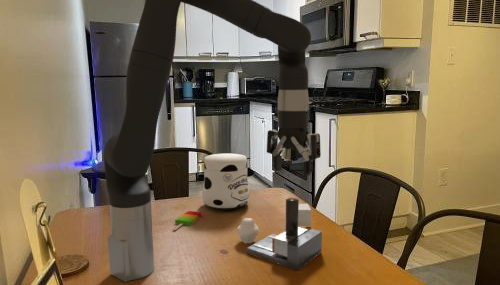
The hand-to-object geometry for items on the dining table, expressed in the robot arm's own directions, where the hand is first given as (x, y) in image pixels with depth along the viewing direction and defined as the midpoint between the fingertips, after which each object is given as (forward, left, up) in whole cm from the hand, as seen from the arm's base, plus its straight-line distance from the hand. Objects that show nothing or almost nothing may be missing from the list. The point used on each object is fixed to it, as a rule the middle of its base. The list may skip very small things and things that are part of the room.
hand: (292, 172), depth 96 cm
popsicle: (-1, +39, -23) cm, 45 cm away
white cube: (+20, +9, -22) cm, 31 cm away
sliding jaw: (0, 0, -20) cm, 20 cm away
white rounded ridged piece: (0, +14, -22) cm, 27 cm away
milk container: (+20, +40, -22) cm, 50 cm away
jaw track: (0, +2, -22) cm, 22 cm away
